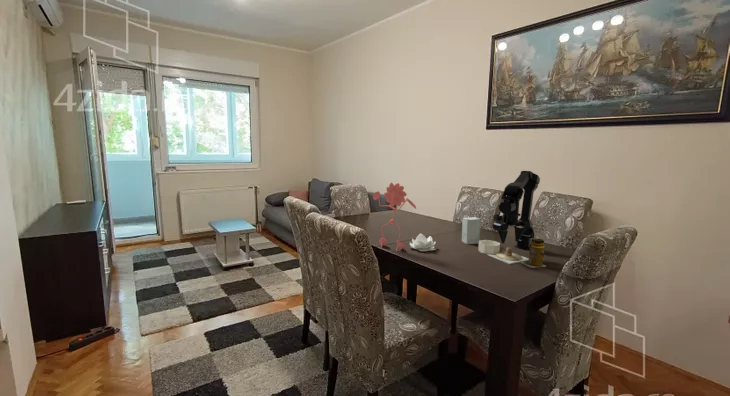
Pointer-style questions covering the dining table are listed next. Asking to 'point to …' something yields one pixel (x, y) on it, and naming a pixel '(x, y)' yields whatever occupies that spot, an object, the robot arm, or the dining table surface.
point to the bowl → (489, 247)
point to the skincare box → (471, 230)
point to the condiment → (536, 254)
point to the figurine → (393, 197)
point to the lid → (508, 255)
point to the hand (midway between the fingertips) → (509, 242)
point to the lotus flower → (423, 243)
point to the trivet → (509, 260)
